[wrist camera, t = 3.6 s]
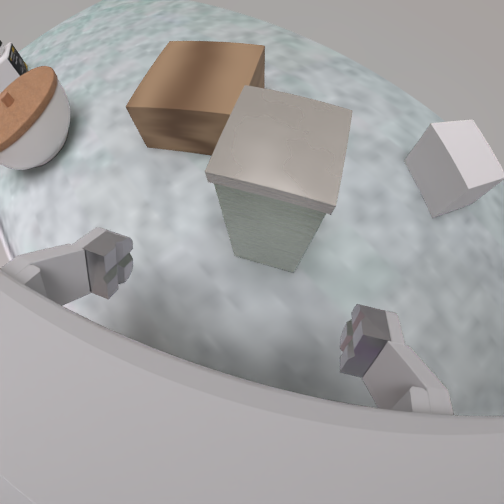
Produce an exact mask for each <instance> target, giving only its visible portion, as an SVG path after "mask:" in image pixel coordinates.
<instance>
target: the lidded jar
mask: <svg viewBox="0 0 504 504" xmlns="http://www.w3.org/2000/svg"><path fill="white" fill-rule="evenodd" d="M69 124H70V105H69V101H68V98H67V95H66V93H65V90H64V88H63V87H62V85H61V83H60V82H59V80H58V79H57V75H56V74H55V72H54V70H53V69H52V68H51V67H47V66H41V67H37V68H34V69H32V70H30V71H28V72H26V73H24V74H23V75H21V76H20V77H18V78H17V79H16V80H14V81H13V82H12V83H11V84H10V85H8V86H7V87H6V88H5V89H4V90H3V91H2V92H1V93H0V164H1V165H3V166H5V167H8V168H11V169H16V170H25V169H30V168H33V167H39V166H42V165H44V164H46V163H48V162H49V161H50V160H52V159H53V158H54V157H55V156H56V155H57V154H58V152H59V151H60V150H61V148H62V147H63V145H64V143H65V141H66V139H67V135H68V128H69Z"/></svg>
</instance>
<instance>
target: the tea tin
mask: <svg viewBox="0 0 504 504" xmlns="http://www.w3.org/2000/svg"><path fill="white" fill-rule="evenodd" d="M351 117H352V110H349V109H345V108H342V107H339V106H335V105H332V104H328V103H325V102H321V101H317V100H313V99H309V98H305V97H301V96H297V95H293V94H288V93H284V92H279V91H275V90H270V89H264V88H259V87H254V86H248V85H245V86H244V88H243V90H242V92H241V94H240V96H239V98H238V100H237V102H236V104H235V106H234V108H233V110H232V112H231V114H230V117H229V119H228V121H227V123H226V125H225V127H224V129H223V132H222V134H221V136H220V138H219V140H218V143H217V145H216V147H215V149H214V152H213V154H212V156H211V158H210V161H209V163H208V165H207V168H206V170H205V174H206V177H207V180H208V182H210V183H214V185H215V189H216V192H217V196H218V199H219V203H220V206H221V210H222V213H223V217H224V220H225V224H226V227H227V231H228V234H229V238H230V241H231V245H232V248H233V252H234V255H235V256H236V257H240V258H243V259H247V260H250V261H254V262H257V263H261V264H264V265H268V266H271V267H275V268H278V269H282V270H285V271H289V272H292V273H294V272H295V270H296V268H297V266H298V265H299V263H300V261H301V259H302V257H303V255H304V254H305V252H306V250H307V248H308V246H309V244H310V243H311V241H312V239H313V237H314V235H315V233H316V232H317V230H318V228H319V226H320V224H321V222H322V220H323V218H324V216H325V215H326V214H330V215H331V214H332V212H333V210H334V208H335V207H336V203H337V198H338V193H339V188H340V183H341V177H342V172H343V166H344V161H345V155H346V149H347V143H348V137H349V131H350V124H351Z"/></svg>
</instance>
